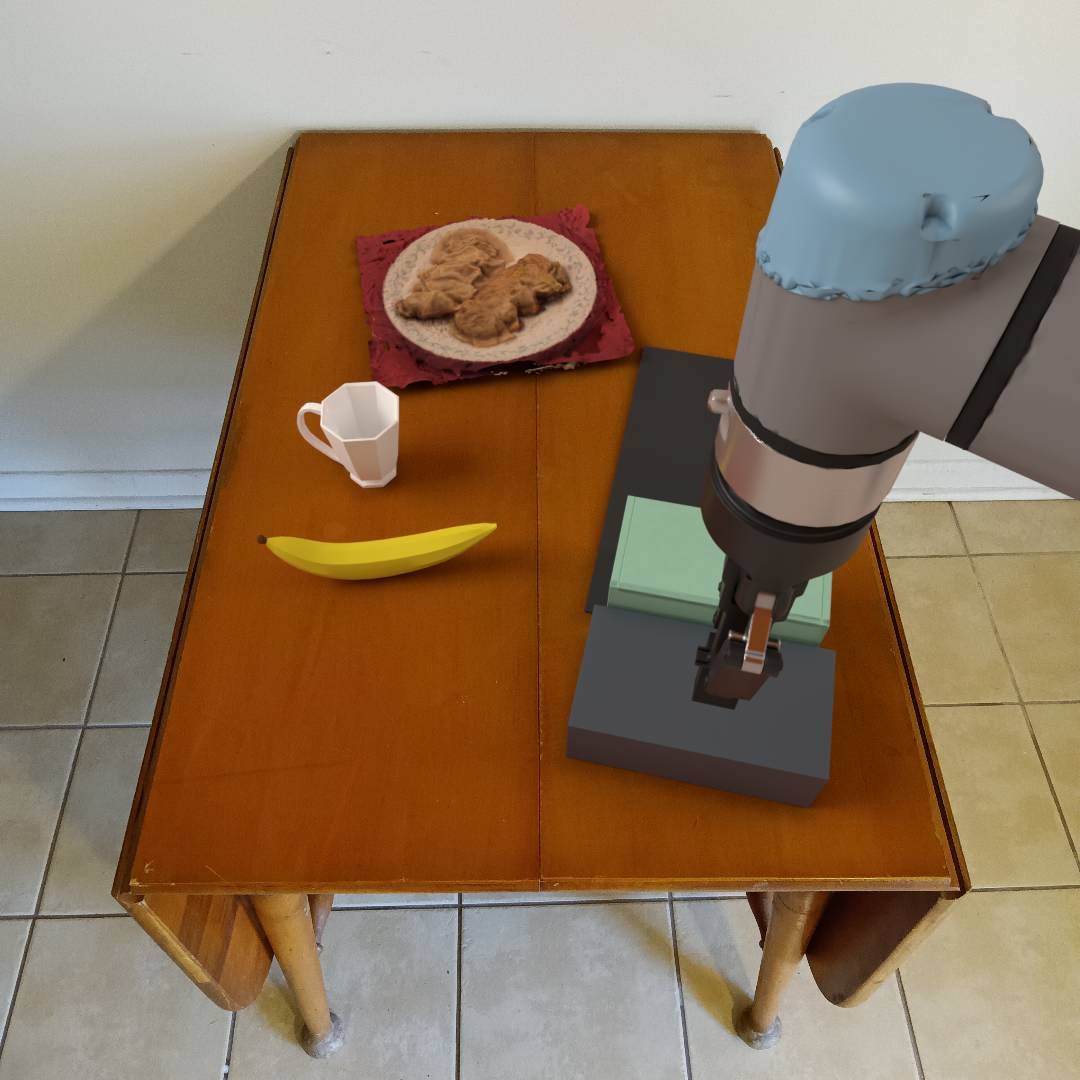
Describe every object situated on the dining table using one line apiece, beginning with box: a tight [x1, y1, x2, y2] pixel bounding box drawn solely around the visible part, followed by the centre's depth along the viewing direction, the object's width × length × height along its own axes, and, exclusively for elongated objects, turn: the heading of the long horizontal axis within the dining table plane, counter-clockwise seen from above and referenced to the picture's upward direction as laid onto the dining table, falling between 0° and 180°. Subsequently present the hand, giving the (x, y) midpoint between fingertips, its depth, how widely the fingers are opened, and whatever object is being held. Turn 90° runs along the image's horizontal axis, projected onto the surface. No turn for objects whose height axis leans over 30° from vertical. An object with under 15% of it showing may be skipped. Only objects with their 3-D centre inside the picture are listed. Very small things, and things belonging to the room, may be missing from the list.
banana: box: [256, 522, 499, 581], centre depth 78 cm, size 3×19×6 cm, turn 97°
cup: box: [296, 381, 400, 489], centre depth 83 cm, size 7×10×8 cm
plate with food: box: [355, 203, 637, 390], centre depth 97 cm, size 24×26×3 cm
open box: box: [607, 495, 834, 648], centre depth 75 cm, size 16×8×8 cm
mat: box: [584, 345, 735, 614], centre depth 86 cm, size 14×31×1 cm, turn 168°
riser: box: [565, 604, 837, 809], centre depth 70 cm, size 18×10×6 cm, turn 77°
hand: (714, 694), depth 60 cm, fingers closed
